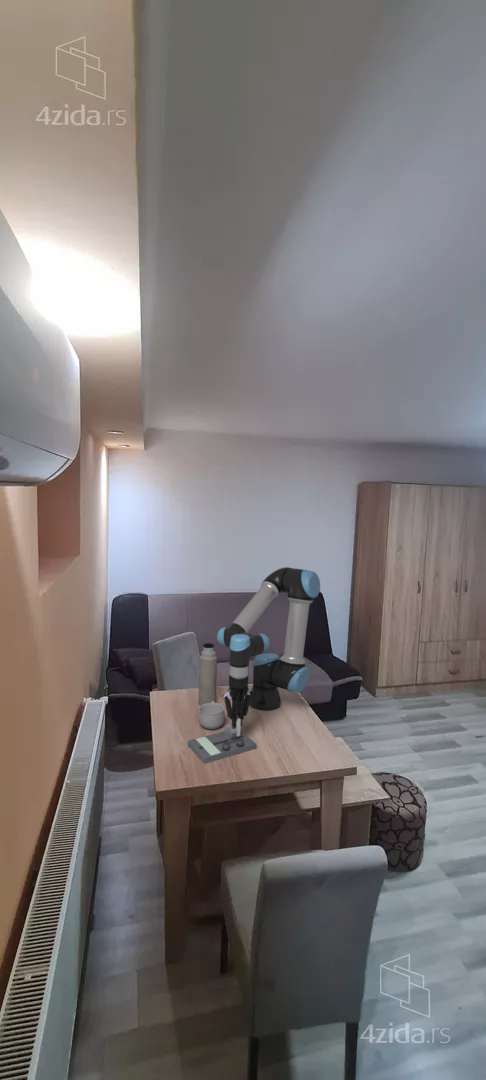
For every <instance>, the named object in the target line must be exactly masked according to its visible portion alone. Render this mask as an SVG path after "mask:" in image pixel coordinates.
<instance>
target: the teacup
mask: <svg viewBox="0 0 486 1080" xmlns="http://www.w3.org/2000/svg"><path fill="white" fill-rule="evenodd" d="M225 710H226V706H224V705H223V704H222V703H218V702H216V703H215V701H212V702H211V703H206V704H203V705H201V706H200V705H199V707H198V720H199V723H200V725H201V726H202V727H203V728H204V729H206V730H212V731H213V730H216V729H218V728H220V727H221V726H222V725H224V722H225Z"/></svg>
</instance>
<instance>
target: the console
mask: <svg viewBox="0 0 486 1080" xmlns="http://www.w3.org/2000/svg"><path fill="white" fill-rule="evenodd" d="M187 747H189V748H190V750H191V751H192V752H193V753H194V754H195V756H196V757H198V759H199V760H200V761H201V762H202V763H203V765H205V764H208V763H212V762H215V761H219V760H222V759H226V758H229V757H232V756H236V755H239V754H243V753H246V751H247V752H250V751H253V750H257V743H256V742H255V741H254V740H252V739H251V738H250V737H249V736H248V735H246V734H245V732H244V731H242V730H241V729H240V736H236V735H235V741H234V742H231V743H229V742H228V741H227V740H226V739H225V738H224V731H220V732H217V733H212V734H208V735H204V736H201V737H197V738H193V739H190V740H189V739H188V740H187Z"/></svg>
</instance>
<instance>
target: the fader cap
mask: <svg viewBox="0 0 486 1080" xmlns="http://www.w3.org/2000/svg"><path fill="white" fill-rule="evenodd" d="M223 729H224V738H225V739H226V740H227V741H228V742H229V743H231V742H234V741H235V731H236V729H235V728H234V727H233V726H232V723H228V724H224V728H223Z"/></svg>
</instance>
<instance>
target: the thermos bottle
mask: <svg viewBox="0 0 486 1080" xmlns="http://www.w3.org/2000/svg"><path fill="white" fill-rule="evenodd" d="M214 646H215V645H214V644H213V643H210V642H206V643H203V645H202V648H203V650H201V653H200V656H199V669H198V670H199V671H198V672H199V673H198V674H199V676H198V705H199V707H200V706H201V705H203V704H206V703H211V702H212V701H215V703H217V702H216V701H217V700H216V699H217V674H218V673H217V672H218V671H217V670H218V669H217V668H218V667H217V666H218V657H217V656H218V655H217V653H216V652H217V651H215V648H214Z"/></svg>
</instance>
